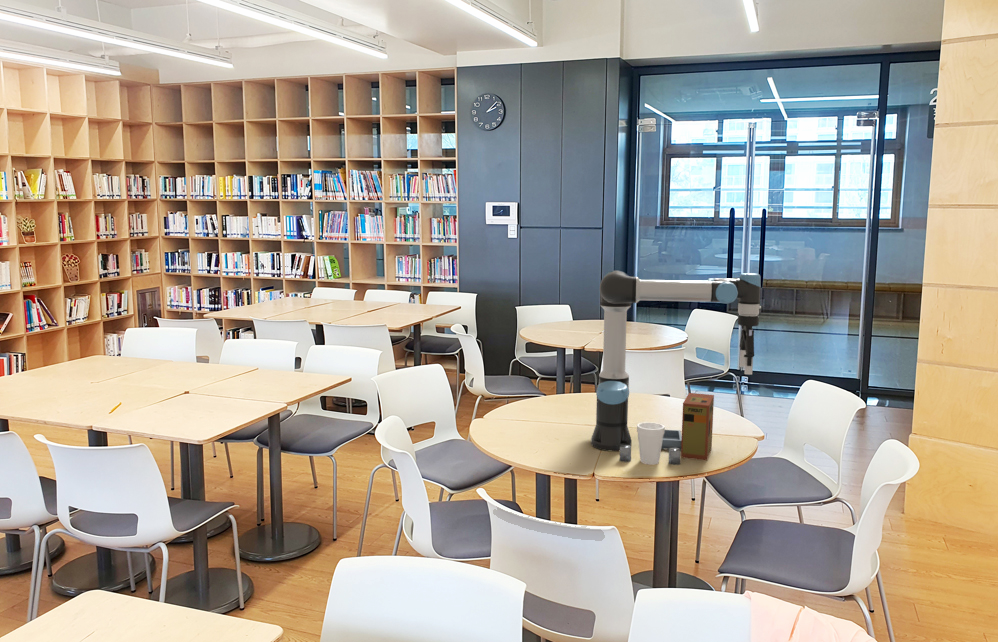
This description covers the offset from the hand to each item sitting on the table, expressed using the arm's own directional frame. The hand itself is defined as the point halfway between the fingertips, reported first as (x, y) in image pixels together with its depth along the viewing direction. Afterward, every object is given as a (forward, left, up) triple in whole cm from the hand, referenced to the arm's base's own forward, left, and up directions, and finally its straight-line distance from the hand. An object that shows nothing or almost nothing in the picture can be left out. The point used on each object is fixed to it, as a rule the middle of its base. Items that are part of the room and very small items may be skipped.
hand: (745, 370), depth 283 cm
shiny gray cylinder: (-27, -30, -28) cm, 49 cm away
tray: (-30, -7, -28) cm, 42 cm away
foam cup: (-35, -30, -28) cm, 54 cm away
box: (-18, -16, -28) cm, 37 cm away
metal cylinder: (-44, -30, -28) cm, 60 cm away
